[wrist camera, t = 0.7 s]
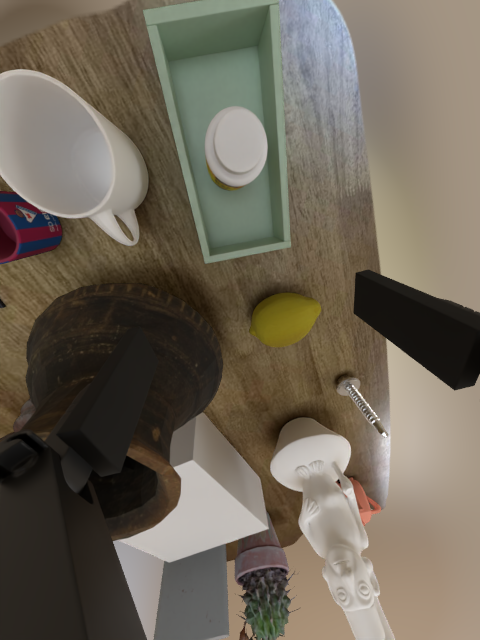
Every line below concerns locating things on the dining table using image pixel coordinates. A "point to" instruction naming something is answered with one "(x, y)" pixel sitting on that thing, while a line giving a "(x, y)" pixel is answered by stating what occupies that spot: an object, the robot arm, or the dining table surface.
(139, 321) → the ceramic pot
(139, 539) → the box
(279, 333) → the lemon
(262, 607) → the potted plant
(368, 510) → the teapot
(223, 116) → the supplement bottle
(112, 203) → the mug
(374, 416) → the screw
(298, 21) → the dining table surface
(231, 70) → the bin
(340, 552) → the white sculpted figure
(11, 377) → the dining table surface
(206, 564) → the flask
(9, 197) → the cup
